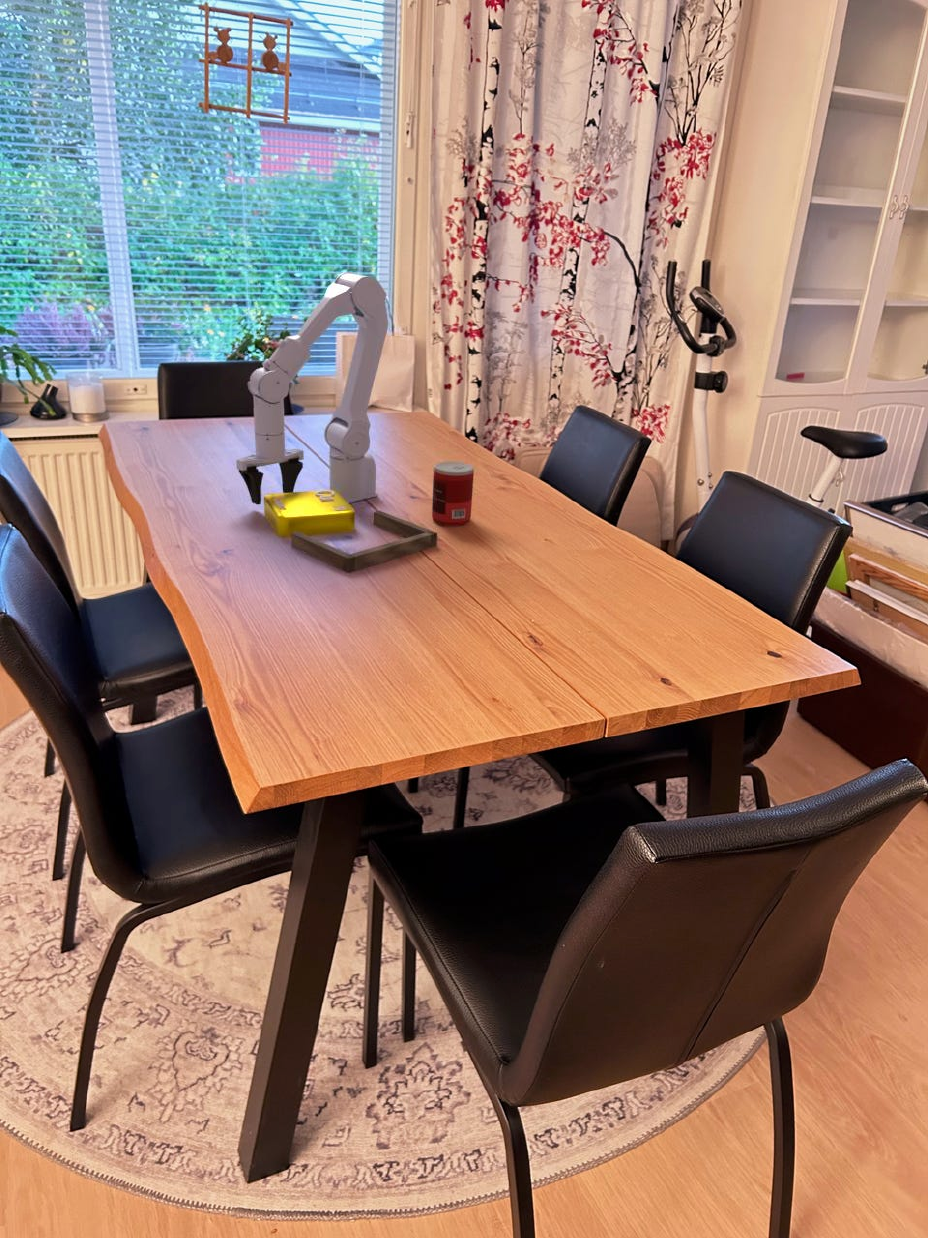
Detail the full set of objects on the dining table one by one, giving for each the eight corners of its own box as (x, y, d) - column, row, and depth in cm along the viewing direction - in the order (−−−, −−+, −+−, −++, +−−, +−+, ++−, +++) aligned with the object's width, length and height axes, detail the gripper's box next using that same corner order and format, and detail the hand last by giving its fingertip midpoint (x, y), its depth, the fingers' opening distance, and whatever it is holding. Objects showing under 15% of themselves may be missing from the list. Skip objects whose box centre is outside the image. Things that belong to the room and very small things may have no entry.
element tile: (262, 514, 177) (261, 491, 175) (336, 509, 182) (336, 486, 180) (279, 540, 164) (278, 515, 162) (357, 533, 170) (357, 509, 168)
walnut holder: (379, 522, 175) (379, 510, 174) (436, 545, 165) (437, 532, 164) (291, 546, 161) (290, 532, 160) (348, 572, 151) (348, 558, 150)
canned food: (476, 518, 181) (480, 465, 176) (460, 529, 174) (463, 474, 169) (442, 511, 183) (445, 458, 179) (425, 522, 177) (427, 467, 172)
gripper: (288, 423, 181) (289, 488, 187) (225, 432, 172) (229, 501, 177) (309, 430, 177) (310, 496, 183) (247, 440, 167) (250, 510, 173)
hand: (272, 499), depth 180 cm, fingers open, 7 cm apart
